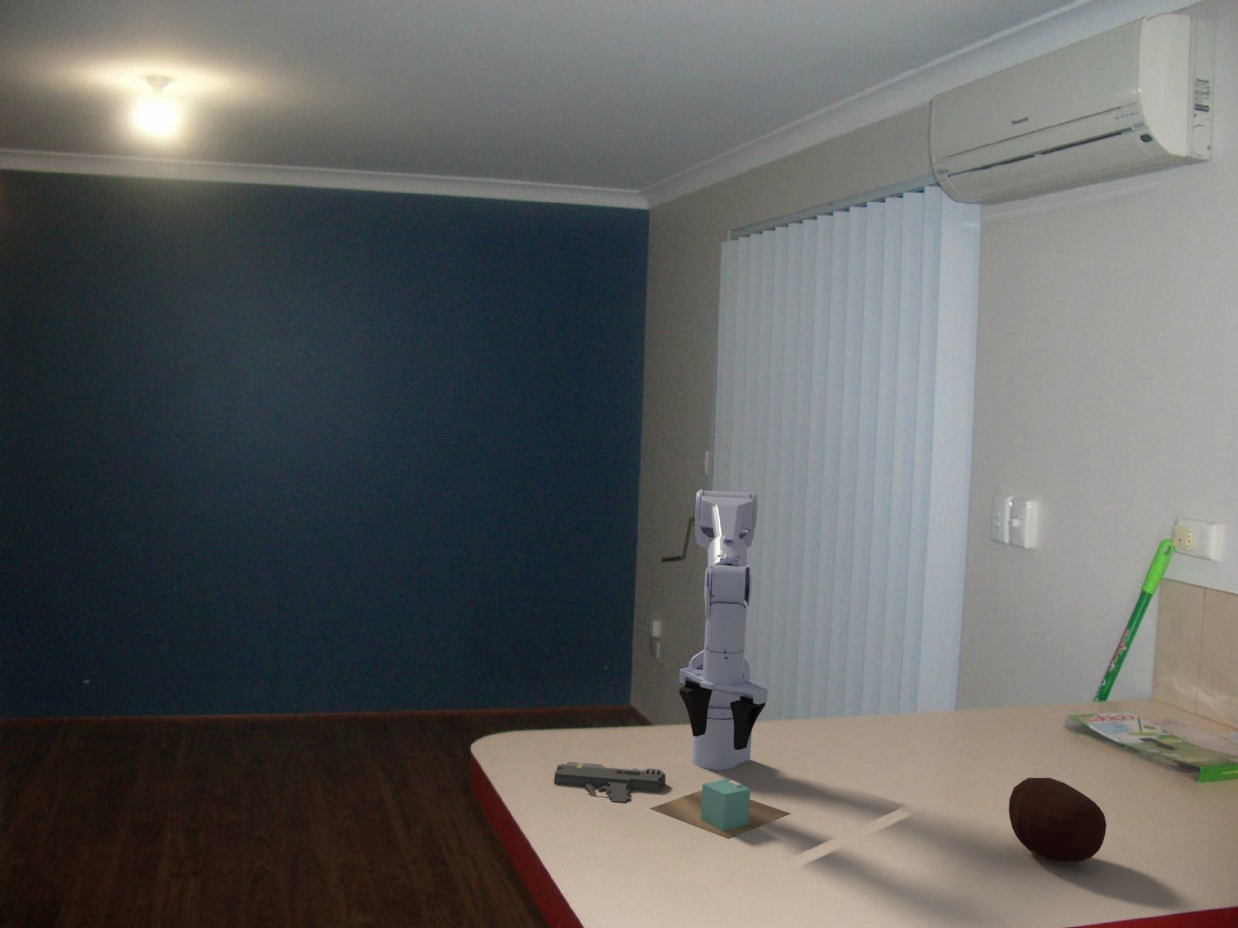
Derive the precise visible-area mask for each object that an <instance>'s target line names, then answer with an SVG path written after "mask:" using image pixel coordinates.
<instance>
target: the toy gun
mask: <svg viewBox="0 0 1238 928" xmlns="http://www.w3.org/2000/svg"><path fill="white" fill-rule="evenodd" d="M666 777H667V776H666V773H664V770H661V768H646V769H643V770H641V769H639V768H632V769H630V768H628V769H627V768H620V767H619V768H617V767H606V766H605V765H603V764H601V763H600V764H598V763H590V762H589V763H588V762H576V761H567V762H566V763H561V764H558V765H557V768H556V769H555V772H554V777H553V778H554V779H553V781H554V782H553V784H556V785H568V786H575V787H576V786H579V787H584V789H585V790H586V792H588V794H587V795H590V797H595V798H603V799H608V800H610V801H611V802H612V803H622V804H626V803H627V802H629V801H633V798H632V799H631V796H632V792H633V791H645V792H657V793H661V791H662V787H663V786H664V787H665V786H666ZM594 788H597V789H598V791H597V792H600V793H601V792H605V795H607V796H601V795H600V796H598V795H597V794H596V790H595V789H594ZM630 792H631V793H630Z"/></svg>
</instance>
